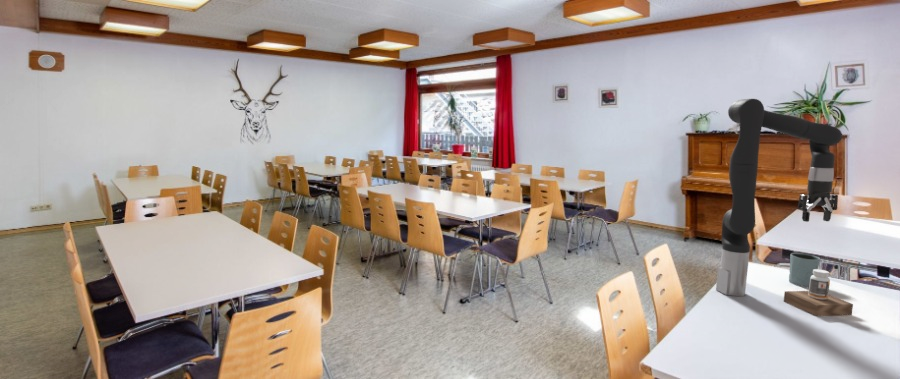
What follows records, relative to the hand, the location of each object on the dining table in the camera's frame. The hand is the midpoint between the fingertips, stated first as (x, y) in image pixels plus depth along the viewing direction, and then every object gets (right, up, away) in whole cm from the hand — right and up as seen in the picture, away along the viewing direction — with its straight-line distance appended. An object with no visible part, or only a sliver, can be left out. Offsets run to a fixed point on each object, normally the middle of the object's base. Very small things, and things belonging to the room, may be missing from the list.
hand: (815, 221), depth 186 cm
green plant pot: (+7, -28, +17) cm, 33 cm away
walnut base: (-8, -31, -10) cm, 34 cm away
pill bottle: (-8, -27, -11) cm, 30 cm away
